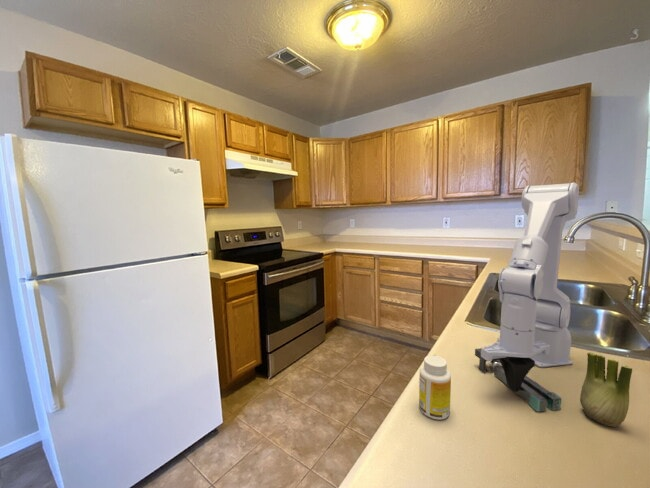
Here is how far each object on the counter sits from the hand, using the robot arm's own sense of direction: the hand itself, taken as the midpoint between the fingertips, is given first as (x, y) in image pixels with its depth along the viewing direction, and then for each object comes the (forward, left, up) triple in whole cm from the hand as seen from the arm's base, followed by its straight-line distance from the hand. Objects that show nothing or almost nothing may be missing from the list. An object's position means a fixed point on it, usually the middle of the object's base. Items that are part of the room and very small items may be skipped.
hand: (513, 388), depth 58 cm
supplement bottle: (+19, +2, -1) cm, 19 cm away
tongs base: (-3, -2, -1) cm, 4 cm away
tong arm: (-1, 0, -1) cm, 2 cm away
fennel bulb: (-10, +9, -1) cm, 13 cm away
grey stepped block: (-3, -9, -1) cm, 9 cm away
